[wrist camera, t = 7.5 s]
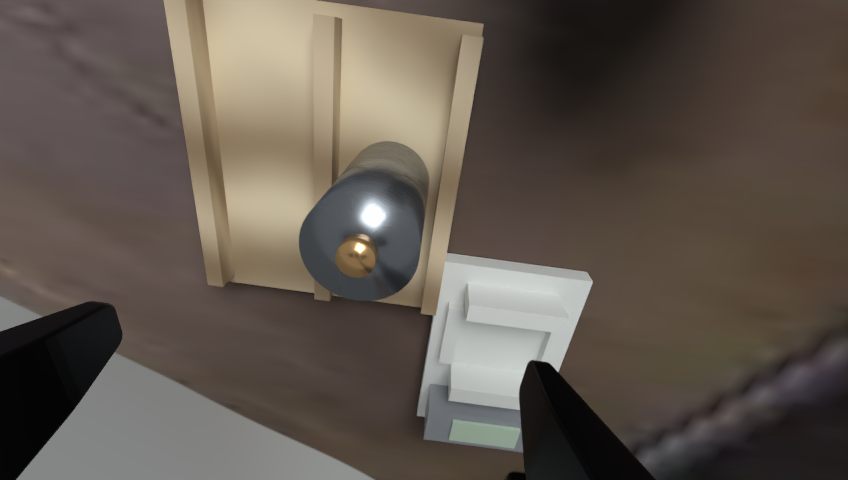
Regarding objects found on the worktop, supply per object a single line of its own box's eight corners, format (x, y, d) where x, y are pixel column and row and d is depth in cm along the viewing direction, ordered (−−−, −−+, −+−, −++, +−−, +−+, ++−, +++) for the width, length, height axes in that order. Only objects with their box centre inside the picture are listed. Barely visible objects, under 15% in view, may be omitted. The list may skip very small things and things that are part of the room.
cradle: (532, 418, 27) (542, 463, 24) (417, 403, 27) (414, 446, 24) (586, 271, 21) (608, 307, 18) (443, 252, 21) (442, 284, 18)
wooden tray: (435, 296, 23) (434, 323, 20) (231, 269, 22) (209, 292, 20) (481, 25, 16) (486, 22, 14) (198, -15, 16) (159, -24, 14)
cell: (424, 223, 19) (410, 319, 12) (348, 213, 19) (293, 303, 12) (434, 147, 17) (426, 210, 11) (351, 135, 17) (289, 191, 11)
